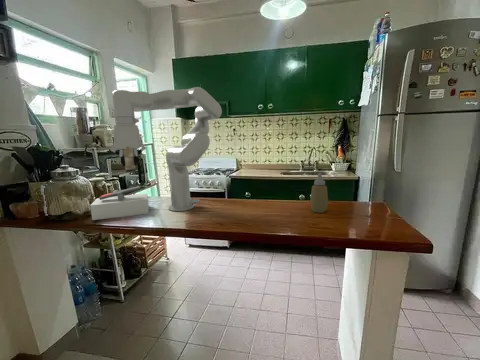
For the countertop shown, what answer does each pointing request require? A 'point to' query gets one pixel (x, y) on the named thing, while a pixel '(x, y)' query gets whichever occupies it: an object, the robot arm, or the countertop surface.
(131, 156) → the dowel
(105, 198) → the rocker
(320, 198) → the squeeze bottle
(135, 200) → the switch base
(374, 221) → the countertop surface
